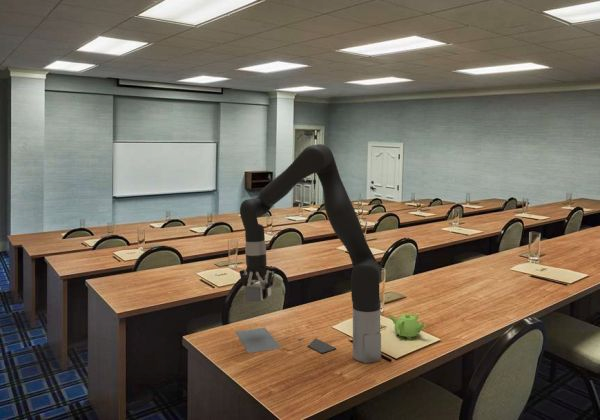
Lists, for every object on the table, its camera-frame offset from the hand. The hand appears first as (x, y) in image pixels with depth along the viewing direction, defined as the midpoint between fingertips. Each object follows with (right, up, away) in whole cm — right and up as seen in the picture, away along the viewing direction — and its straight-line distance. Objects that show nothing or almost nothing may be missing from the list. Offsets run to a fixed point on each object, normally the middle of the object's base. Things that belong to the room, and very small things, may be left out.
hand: (258, 297), depth 176 cm
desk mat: (0, -16, +1) cm, 16 cm away
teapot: (+57, -15, +4) cm, 59 cm away
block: (+2, +3, +5) cm, 6 cm away
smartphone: (+21, -17, -4) cm, 28 cm away
